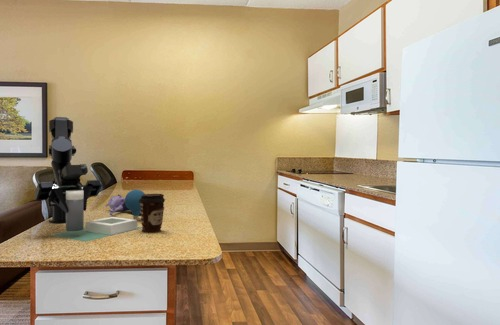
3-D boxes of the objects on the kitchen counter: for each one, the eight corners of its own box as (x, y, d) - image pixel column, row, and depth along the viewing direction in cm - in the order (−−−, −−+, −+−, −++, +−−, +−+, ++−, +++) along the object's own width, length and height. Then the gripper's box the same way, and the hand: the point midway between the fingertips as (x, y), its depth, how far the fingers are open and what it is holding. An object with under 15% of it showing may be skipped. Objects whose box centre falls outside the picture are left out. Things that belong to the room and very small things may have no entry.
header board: (49, 238, 123) (49, 225, 123) (109, 225, 145) (109, 214, 145) (86, 244, 116) (86, 231, 116) (143, 230, 138) (143, 218, 137)
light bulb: (140, 223, 151) (141, 191, 150) (120, 221, 152) (120, 190, 152) (150, 219, 159) (151, 189, 158) (131, 218, 160) (131, 188, 160)
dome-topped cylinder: (62, 230, 122) (62, 190, 122) (75, 227, 127) (76, 189, 126) (73, 232, 120) (73, 192, 119) (87, 229, 124) (87, 190, 124)
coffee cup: (170, 232, 135) (170, 193, 135) (156, 237, 127) (156, 196, 127) (147, 230, 138) (148, 192, 137) (133, 235, 130) (133, 195, 130)
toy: (129, 206, 152) (85, 191, 170) (128, 229, 153) (83, 212, 171) (180, 199, 174) (135, 186, 191) (178, 220, 175) (134, 205, 192)
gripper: (37, 155, 119) (49, 196, 111) (99, 155, 132) (114, 192, 124) (30, 180, 125) (40, 220, 117) (90, 177, 138) (103, 213, 130)
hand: (76, 210), depth 122 cm, fingers closed on dome-topped cylinder, 5 cm apart
